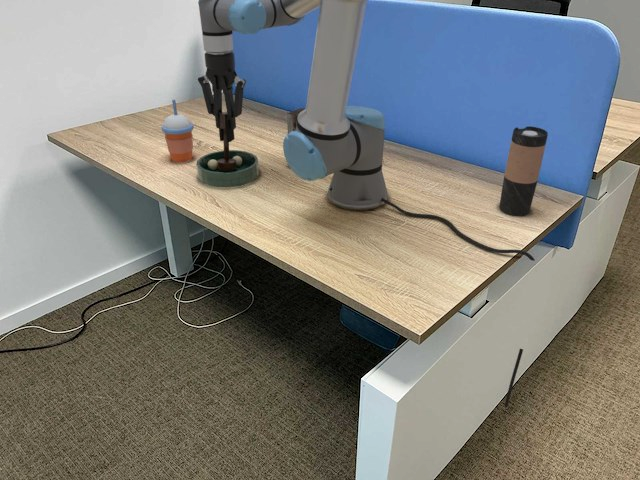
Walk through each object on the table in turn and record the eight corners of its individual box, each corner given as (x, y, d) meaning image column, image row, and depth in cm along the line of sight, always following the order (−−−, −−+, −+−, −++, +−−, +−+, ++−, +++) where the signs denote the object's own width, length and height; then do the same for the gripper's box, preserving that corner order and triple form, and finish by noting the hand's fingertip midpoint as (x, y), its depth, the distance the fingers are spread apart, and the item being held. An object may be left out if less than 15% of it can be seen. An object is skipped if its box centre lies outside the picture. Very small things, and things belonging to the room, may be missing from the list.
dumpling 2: (239, 168, 150) (241, 158, 148) (229, 165, 150) (231, 155, 149) (242, 166, 152) (244, 156, 151) (233, 163, 153) (234, 153, 152)
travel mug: (526, 219, 125) (544, 139, 115) (494, 211, 128) (509, 133, 118) (533, 206, 130) (551, 129, 120) (502, 199, 134) (517, 123, 124)
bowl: (271, 174, 148) (270, 159, 145) (227, 194, 136) (225, 178, 134) (230, 160, 157) (229, 145, 154) (185, 178, 146) (183, 162, 143)
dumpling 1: (221, 169, 149) (220, 159, 148) (213, 172, 147) (212, 162, 146) (214, 166, 151) (213, 157, 149) (206, 169, 149) (204, 160, 147)
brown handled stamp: (239, 167, 149) (238, 112, 143) (230, 171, 145) (229, 115, 138) (223, 164, 151) (221, 110, 144) (214, 169, 146) (211, 113, 140)
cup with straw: (190, 166, 152) (181, 105, 143) (161, 164, 154) (151, 103, 145) (202, 155, 160) (195, 96, 151) (174, 153, 162) (166, 94, 152)
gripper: (251, 50, 134) (257, 138, 146) (201, 46, 138) (210, 132, 150) (238, 56, 128) (245, 147, 140) (186, 52, 132) (197, 141, 144)
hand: (227, 139), depth 145 cm, fingers closed on brown handled stamp, 2 cm apart
